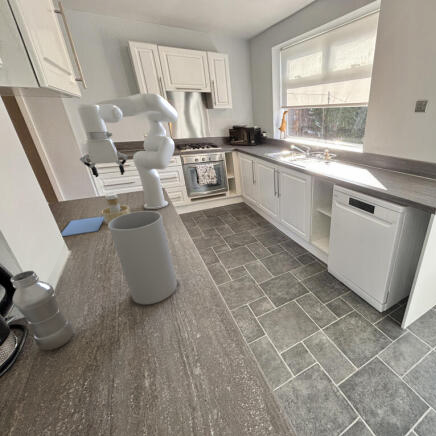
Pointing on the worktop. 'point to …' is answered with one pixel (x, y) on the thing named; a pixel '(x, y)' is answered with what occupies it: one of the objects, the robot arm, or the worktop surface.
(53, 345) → the plastic bottle
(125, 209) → the bowl
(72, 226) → the cloth
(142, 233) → the cylinder vase
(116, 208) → the sprinkles bottle
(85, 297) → the worktop surface
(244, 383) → the worktop surface
